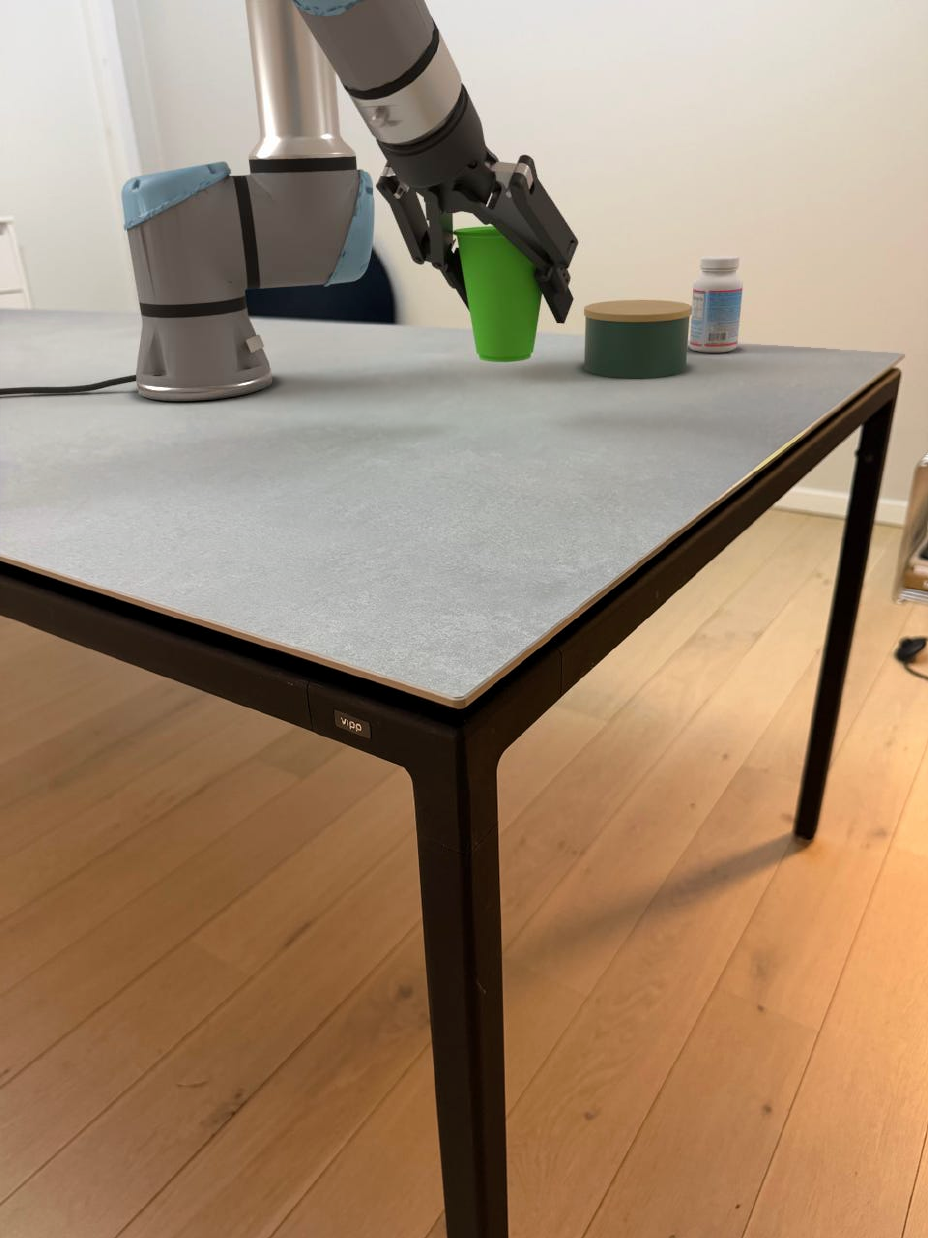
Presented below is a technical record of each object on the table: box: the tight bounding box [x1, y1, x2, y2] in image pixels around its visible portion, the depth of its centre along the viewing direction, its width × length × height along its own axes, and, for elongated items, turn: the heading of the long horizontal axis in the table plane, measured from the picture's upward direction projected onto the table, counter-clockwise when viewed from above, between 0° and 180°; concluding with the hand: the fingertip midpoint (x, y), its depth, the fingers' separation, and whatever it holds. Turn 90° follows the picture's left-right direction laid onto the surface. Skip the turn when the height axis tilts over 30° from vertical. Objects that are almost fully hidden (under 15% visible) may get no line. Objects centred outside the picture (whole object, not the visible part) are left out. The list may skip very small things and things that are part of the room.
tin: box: [583, 299, 692, 379], centre depth 109 cm, size 12×12×7 cm
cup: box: [453, 225, 543, 363], centre depth 83 cm, size 9×9×11 cm
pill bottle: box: [689, 254, 744, 354], centre depth 117 cm, size 6×6×11 cm
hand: (522, 308), depth 86 cm, fingers closed on cup, 8 cm apart
